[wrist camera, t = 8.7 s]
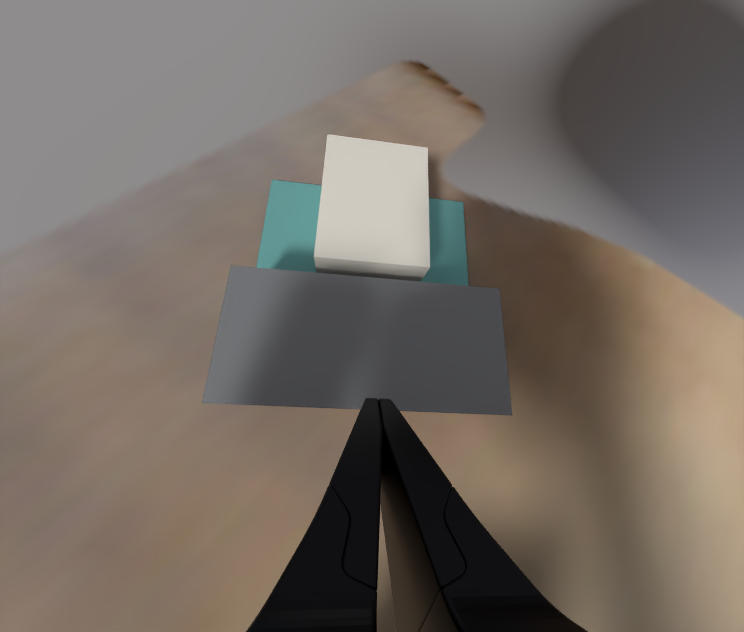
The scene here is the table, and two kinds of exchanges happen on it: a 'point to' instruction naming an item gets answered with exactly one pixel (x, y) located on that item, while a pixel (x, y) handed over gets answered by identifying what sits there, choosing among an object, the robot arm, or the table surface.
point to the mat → (299, 227)
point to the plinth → (358, 343)
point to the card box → (373, 210)
